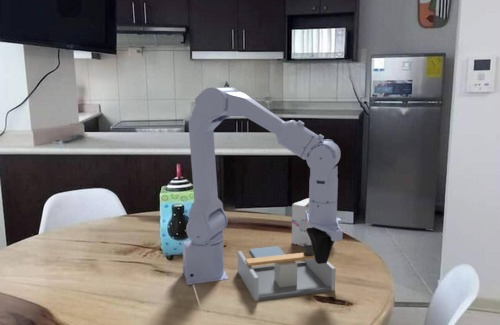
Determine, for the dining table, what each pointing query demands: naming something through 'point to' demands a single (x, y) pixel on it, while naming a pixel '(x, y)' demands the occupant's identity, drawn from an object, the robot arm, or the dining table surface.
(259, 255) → the pad
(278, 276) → the block
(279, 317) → the dining table surface
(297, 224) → the ink box
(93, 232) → the dining table surface
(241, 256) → the case
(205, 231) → the robot arm
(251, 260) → the bar
